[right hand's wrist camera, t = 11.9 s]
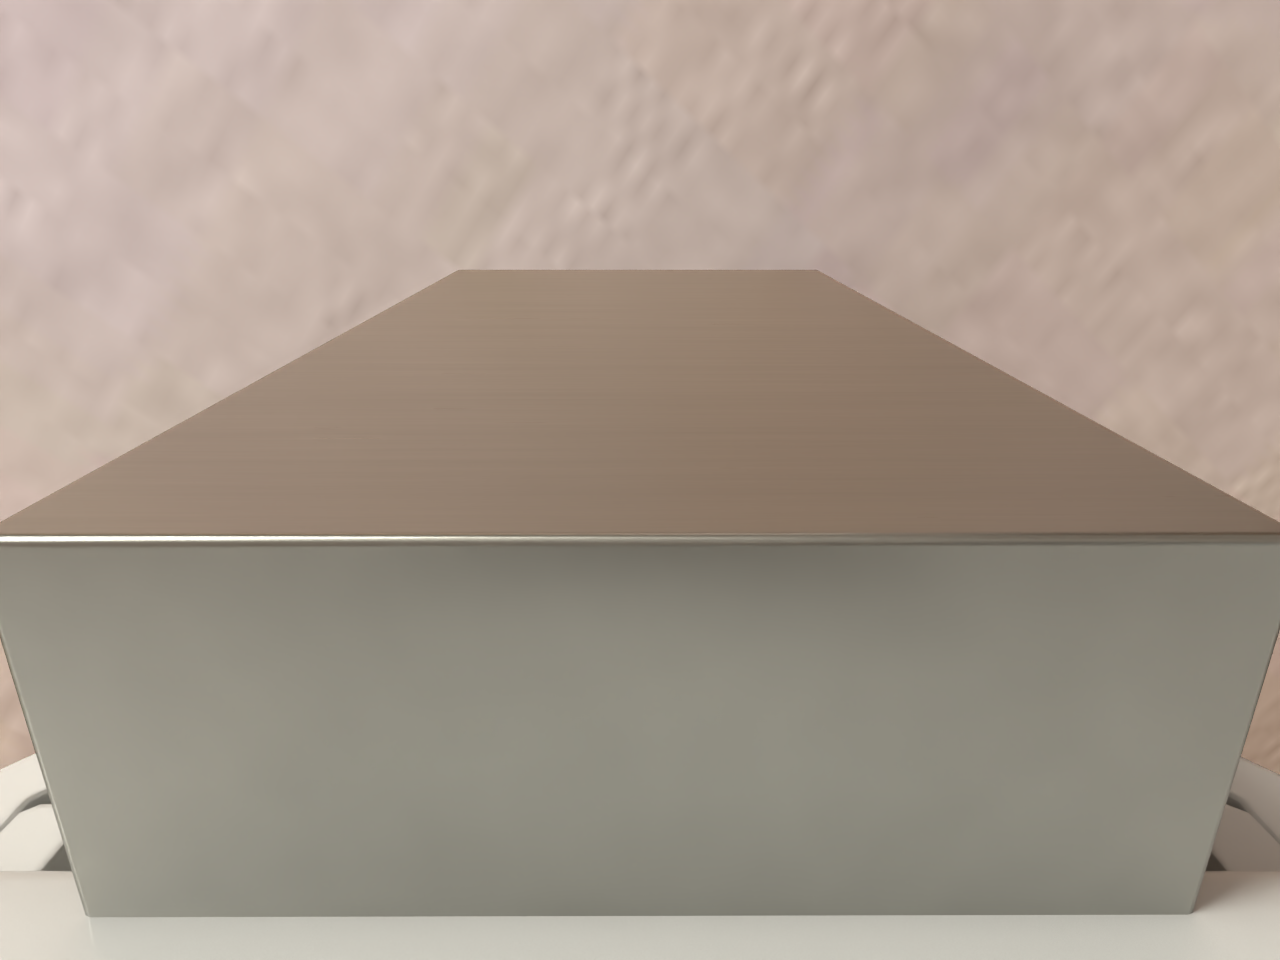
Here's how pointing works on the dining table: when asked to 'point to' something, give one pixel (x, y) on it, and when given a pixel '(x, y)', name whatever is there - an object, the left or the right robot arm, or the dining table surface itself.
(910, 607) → the box
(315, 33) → the dining table surface
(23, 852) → the right robot arm
